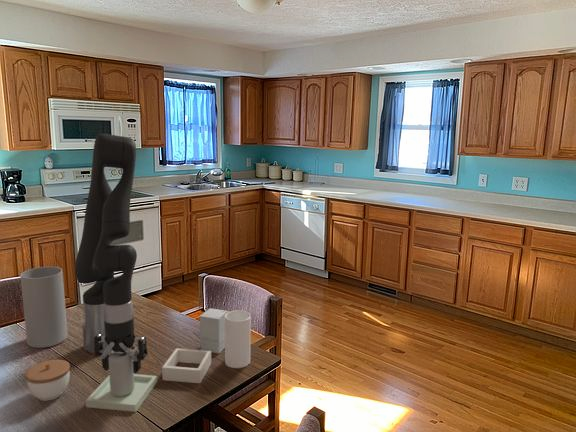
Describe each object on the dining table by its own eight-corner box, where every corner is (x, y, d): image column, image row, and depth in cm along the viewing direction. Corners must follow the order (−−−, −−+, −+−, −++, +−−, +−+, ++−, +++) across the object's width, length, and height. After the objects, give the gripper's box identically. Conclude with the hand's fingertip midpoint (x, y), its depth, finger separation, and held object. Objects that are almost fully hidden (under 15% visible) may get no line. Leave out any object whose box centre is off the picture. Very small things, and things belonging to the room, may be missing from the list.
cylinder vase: (45, 352, 144) (38, 280, 139) (18, 344, 148) (11, 275, 144) (75, 336, 155) (70, 269, 150) (50, 329, 160) (44, 264, 155)
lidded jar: (31, 388, 124) (27, 358, 122) (72, 380, 128) (70, 351, 127) (25, 410, 114) (22, 377, 113) (70, 400, 119) (68, 369, 117)
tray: (86, 407, 116) (85, 400, 116) (112, 378, 130) (112, 372, 129) (135, 411, 115) (135, 405, 114) (157, 382, 128) (156, 375, 128)
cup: (225, 355, 144) (225, 310, 141) (250, 354, 145) (250, 310, 142) (224, 368, 136) (223, 321, 133) (250, 367, 137) (250, 320, 134)
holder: (162, 380, 129) (162, 367, 129) (176, 360, 141) (176, 348, 140) (200, 383, 128) (200, 370, 127) (211, 362, 140) (211, 350, 139)
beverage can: (126, 399, 118) (124, 359, 116) (105, 396, 120) (103, 356, 117) (139, 386, 125) (137, 348, 122) (119, 383, 126) (116, 345, 123)
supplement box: (229, 344, 152) (228, 310, 149) (219, 354, 145) (218, 319, 143) (210, 340, 154) (210, 307, 152) (199, 350, 147) (199, 315, 145)
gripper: (86, 320, 115) (90, 375, 118) (137, 324, 113) (140, 380, 116) (101, 309, 122) (104, 361, 125) (149, 312, 121) (152, 365, 124)
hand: (122, 370), depth 121 cm, fingers open, 8 cm apart
